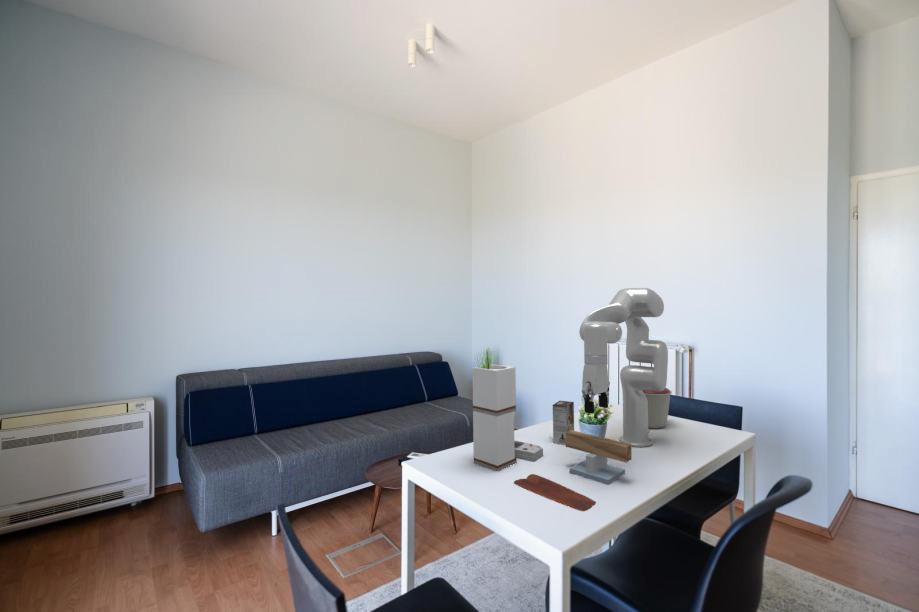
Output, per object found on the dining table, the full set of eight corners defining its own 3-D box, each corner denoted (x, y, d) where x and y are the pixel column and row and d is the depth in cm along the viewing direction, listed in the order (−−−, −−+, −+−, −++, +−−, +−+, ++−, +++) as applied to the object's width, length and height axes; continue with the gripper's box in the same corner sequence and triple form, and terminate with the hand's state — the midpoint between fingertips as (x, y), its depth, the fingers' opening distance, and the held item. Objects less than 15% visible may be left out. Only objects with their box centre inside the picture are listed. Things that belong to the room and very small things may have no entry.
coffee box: (559, 437, 185) (559, 400, 184) (574, 439, 181) (574, 401, 181) (552, 443, 177) (552, 404, 177) (568, 445, 173) (567, 406, 173)
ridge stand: (587, 462, 155) (586, 443, 155) (624, 473, 145) (624, 453, 145) (569, 472, 146) (569, 452, 146) (608, 484, 136) (608, 462, 136)
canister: (654, 433, 187) (654, 385, 187) (621, 423, 203) (620, 379, 203) (680, 427, 196) (680, 381, 196) (646, 418, 212) (646, 375, 212)
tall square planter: (516, 463, 156) (515, 367, 155) (497, 471, 148) (496, 370, 148) (492, 455, 164) (491, 364, 163) (473, 463, 156) (472, 367, 156)
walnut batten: (571, 443, 155) (571, 430, 155) (631, 459, 139) (631, 444, 139) (565, 446, 152) (565, 432, 152) (626, 462, 136) (626, 447, 136)
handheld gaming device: (534, 462, 157) (534, 452, 157) (499, 455, 165) (499, 445, 165) (544, 455, 164) (544, 445, 164) (510, 448, 172) (510, 439, 172)
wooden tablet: (511, 485, 139) (511, 480, 139) (532, 476, 145) (532, 471, 145) (581, 516, 118) (581, 510, 118) (601, 504, 125) (601, 498, 125)
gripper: (598, 356, 154) (598, 403, 154) (572, 361, 142) (573, 413, 142) (618, 358, 149) (618, 407, 149) (593, 364, 137) (594, 417, 137)
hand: (596, 410), depth 146 cm, fingers open, 9 cm apart
